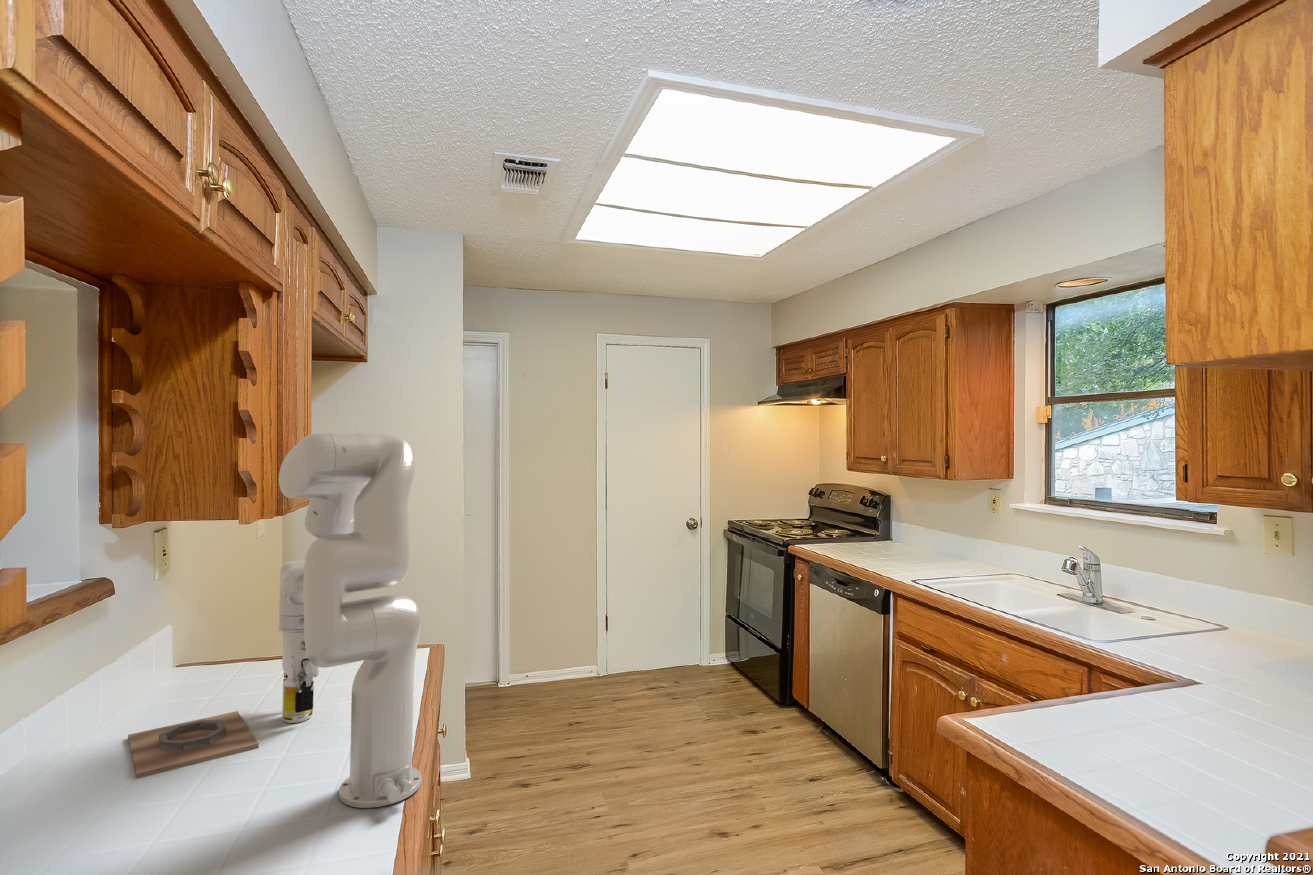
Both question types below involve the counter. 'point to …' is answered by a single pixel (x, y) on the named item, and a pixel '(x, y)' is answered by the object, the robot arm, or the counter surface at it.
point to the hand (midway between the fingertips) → (297, 703)
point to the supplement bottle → (292, 703)
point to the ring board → (189, 743)
